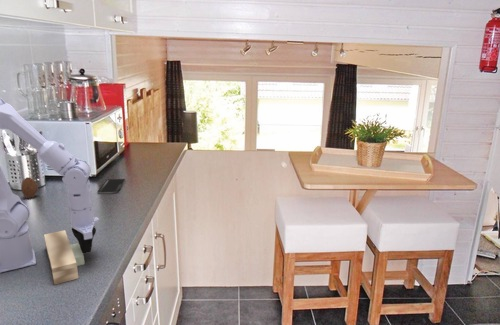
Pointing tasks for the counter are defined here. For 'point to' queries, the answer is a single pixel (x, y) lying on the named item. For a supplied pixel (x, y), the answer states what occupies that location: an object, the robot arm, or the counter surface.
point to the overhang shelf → (61, 257)
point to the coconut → (29, 187)
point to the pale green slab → (78, 254)
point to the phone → (111, 186)
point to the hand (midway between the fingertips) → (86, 251)
